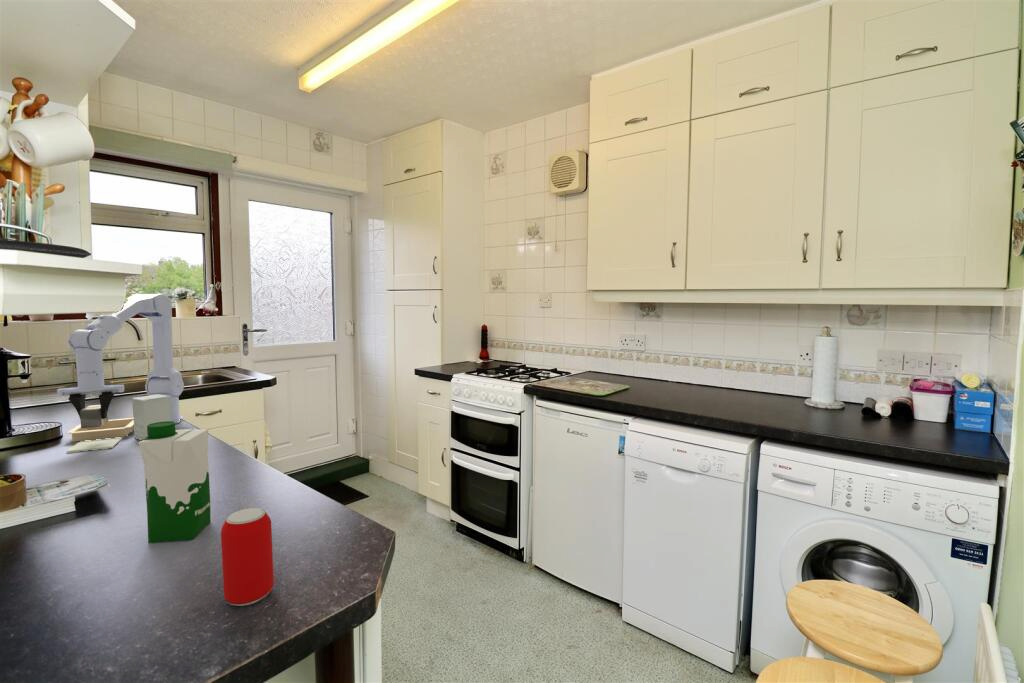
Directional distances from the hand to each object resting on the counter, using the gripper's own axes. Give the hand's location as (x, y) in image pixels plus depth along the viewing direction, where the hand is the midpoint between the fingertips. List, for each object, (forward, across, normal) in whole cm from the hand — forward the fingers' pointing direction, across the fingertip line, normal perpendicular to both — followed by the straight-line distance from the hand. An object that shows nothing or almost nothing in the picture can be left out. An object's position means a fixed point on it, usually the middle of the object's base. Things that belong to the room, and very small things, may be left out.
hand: (93, 418), depth 139 cm
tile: (+8, 0, 0) cm, 8 cm away
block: (+2, 0, +1) cm, 2 cm away
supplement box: (+8, +13, +3) cm, 16 cm away
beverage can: (+8, +43, -100) cm, 109 cm away
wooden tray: (+8, -1, +14) cm, 16 cm away
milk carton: (+8, +31, -73) cm, 80 cm away
